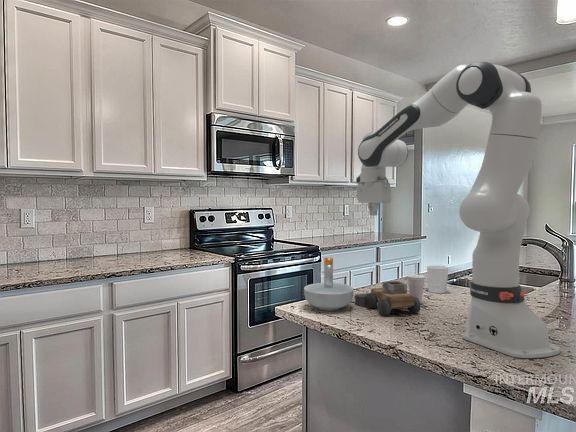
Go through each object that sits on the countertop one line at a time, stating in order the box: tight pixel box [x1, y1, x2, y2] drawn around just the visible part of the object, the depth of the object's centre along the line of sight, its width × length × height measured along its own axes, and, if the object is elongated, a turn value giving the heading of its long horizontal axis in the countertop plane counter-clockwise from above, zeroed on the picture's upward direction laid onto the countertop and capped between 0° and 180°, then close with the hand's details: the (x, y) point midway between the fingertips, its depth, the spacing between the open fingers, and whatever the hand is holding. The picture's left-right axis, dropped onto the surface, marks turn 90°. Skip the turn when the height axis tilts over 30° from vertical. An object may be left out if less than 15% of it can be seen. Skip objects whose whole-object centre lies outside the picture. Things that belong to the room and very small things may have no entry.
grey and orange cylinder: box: [323, 257, 334, 288], centre depth 137 cm, size 3×3×10 cm
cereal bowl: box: [303, 282, 354, 312], centre depth 137 cm, size 17×17×7 cm
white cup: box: [426, 264, 449, 294], centre depth 160 cm, size 8×8×10 cm
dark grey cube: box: [354, 293, 367, 308], centre depth 141 cm, size 4×4×4 cm
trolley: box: [365, 280, 422, 316], centre depth 134 cm, size 14×13×9 cm
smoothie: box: [406, 263, 426, 305], centre depth 143 cm, size 6×6×14 cm
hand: (373, 215), depth 147 cm, fingers closed
